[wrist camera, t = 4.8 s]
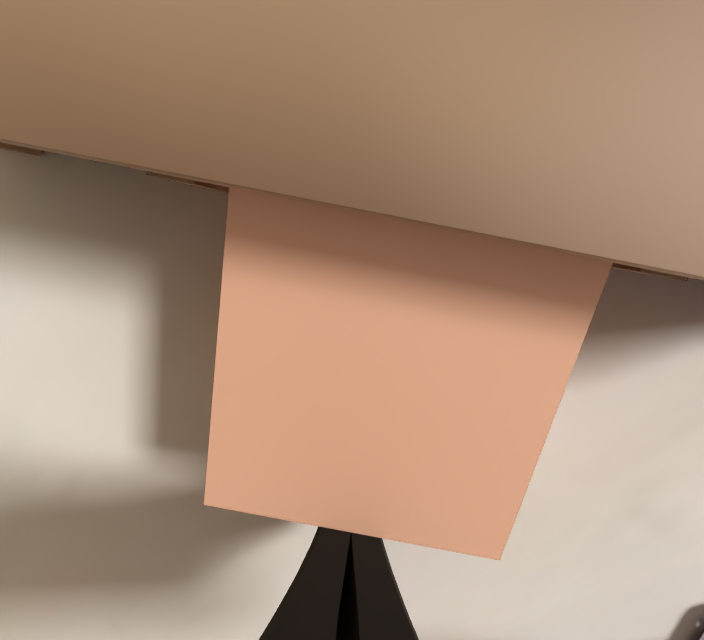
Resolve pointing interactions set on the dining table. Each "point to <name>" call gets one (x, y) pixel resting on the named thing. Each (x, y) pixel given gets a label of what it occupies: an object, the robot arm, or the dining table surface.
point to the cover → (387, 372)
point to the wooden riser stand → (389, 110)
